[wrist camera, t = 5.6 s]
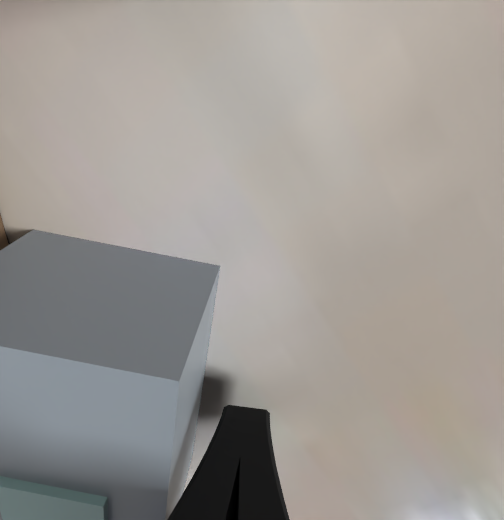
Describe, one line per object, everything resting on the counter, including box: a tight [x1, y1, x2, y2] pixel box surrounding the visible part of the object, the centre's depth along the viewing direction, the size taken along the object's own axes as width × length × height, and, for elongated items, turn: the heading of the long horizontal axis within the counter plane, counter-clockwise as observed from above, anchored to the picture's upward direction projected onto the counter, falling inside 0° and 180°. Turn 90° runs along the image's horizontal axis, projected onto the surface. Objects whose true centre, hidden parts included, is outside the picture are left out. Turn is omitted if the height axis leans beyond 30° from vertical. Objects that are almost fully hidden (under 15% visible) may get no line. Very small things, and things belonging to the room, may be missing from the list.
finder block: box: [0, 230, 220, 520], centre depth 10 cm, size 8×5×4 cm, turn 170°
